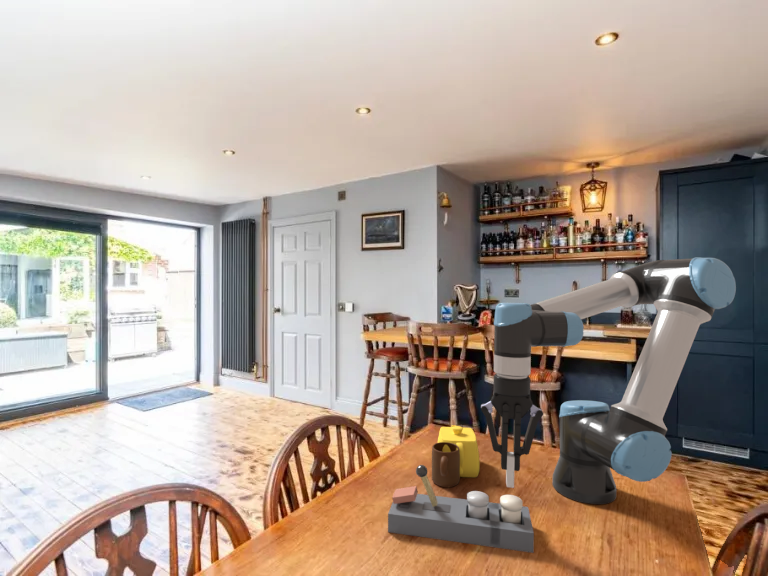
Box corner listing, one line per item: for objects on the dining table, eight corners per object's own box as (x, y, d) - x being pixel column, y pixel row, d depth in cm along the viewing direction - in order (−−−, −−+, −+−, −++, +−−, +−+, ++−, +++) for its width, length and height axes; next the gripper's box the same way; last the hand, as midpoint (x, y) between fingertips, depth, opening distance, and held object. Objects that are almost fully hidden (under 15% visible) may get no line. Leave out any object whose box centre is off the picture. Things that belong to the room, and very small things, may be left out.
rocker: (417, 491, 95) (416, 486, 95) (415, 500, 91) (413, 494, 91) (397, 495, 96) (395, 489, 96) (393, 503, 92) (392, 497, 93)
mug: (458, 498, 104) (458, 460, 104) (428, 494, 106) (428, 458, 106) (460, 476, 116) (460, 443, 116) (433, 473, 117) (433, 440, 117)
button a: (521, 516, 90) (521, 496, 90) (523, 529, 86) (523, 507, 86) (499, 514, 91) (499, 493, 91) (500, 526, 87) (500, 504, 87)
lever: (441, 499, 93) (425, 461, 94) (440, 505, 91) (423, 466, 92) (430, 503, 94) (415, 464, 95) (429, 509, 91) (413, 469, 92)
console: (527, 524, 93) (528, 503, 93) (533, 552, 83) (533, 529, 83) (397, 507, 99) (397, 488, 99) (388, 532, 90) (388, 510, 90)
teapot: (435, 451, 133) (435, 414, 133) (473, 452, 132) (474, 416, 132) (437, 480, 113) (437, 437, 113) (483, 482, 112) (483, 439, 112)
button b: (488, 512, 92) (488, 492, 92) (488, 524, 87) (488, 502, 87) (467, 510, 93) (467, 489, 93) (466, 521, 89) (466, 500, 88)
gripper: (541, 373, 90) (539, 480, 91) (480, 369, 93) (478, 473, 94) (546, 380, 83) (544, 497, 83) (480, 376, 86) (478, 489, 86)
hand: (509, 484), depth 88 cm, fingers closed
